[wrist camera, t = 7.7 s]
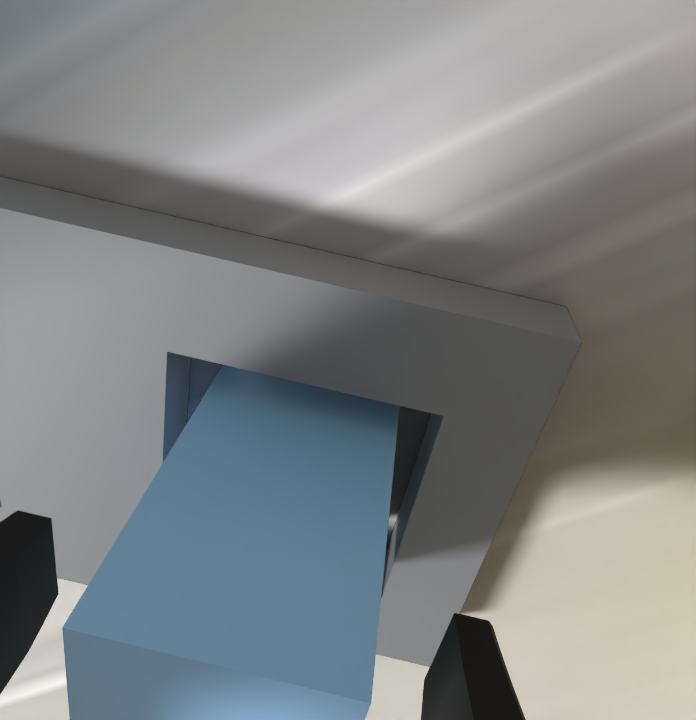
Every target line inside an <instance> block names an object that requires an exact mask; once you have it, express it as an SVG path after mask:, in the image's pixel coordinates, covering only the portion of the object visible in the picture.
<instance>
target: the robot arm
mask: <svg viewBox="0 0 696 720" xmlns="http://www.w3.org/2000/svg"><path fill="white" fill-rule="evenodd" d="M57 595H58V584H57V573H56V562H55V551H54V540H53V529H52V518H48V517H44V516H40V515H36V514H31V513H27V512H23V511H19V510H18V511H16V512H14V513H12V514H11V515H9V516H8V517H7V518H5V519H4V520H2V521H1V522H0V694H1V692H2V691H3V689H4V688H5V686H6V685H7V683H8V682H9V680H10V679H11V677H12V676H13V674H14V673H15V671H16V670H17V668H18V667H19V665H20V663H21V662H22V660H23V659H24V657H25V656H26V654H27V653H28V651H29V649H30V647H31V646H32V644H33V642H34V640H35V638H36V636H37V634H38V632H39V631H40V629H41V627H42V625H43V623H44V621H45V619H46V617H47V615H48V613H49V611H50V609H51V607H52V605H53V603H54V601H55V599H56V597H57ZM421 720H525V717H524V715H523V712H522V709H521V707H520V704H519V701H518V699H517V696H516V693H515V691H514V688H513V685H512V682H511V680H510V677H509V674H508V671H507V668H506V665H505V662H504V660H503V657H502V654H501V651H500V648H499V645H498V642H497V639H496V635H495V632H494V629H493V626H492V625H491V623H490V622H489V621H487V620H483V619H479V618H475V617H470V616H466V615H462V614H458V613H454V614H453V617H452V619H451V621H450V623H449V626H448V628H447V630H446V632H445V635H444V637H443V639H442V641H441V644H440V646H439V648H438V650H437V653H436V655H435V657H434V659H433V662H432V664H431V666H430V668H429V671H428V673H427V675H426V677H425V680H424V690H423V702H422V714H421Z"/></svg>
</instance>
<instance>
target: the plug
mask: <svg viewBox="0 0 696 720" xmlns="http://www.w3.org/2000/svg"><path fill="white" fill-rule="evenodd" d="M399 408H400V406H398V405H394V404H390V403H385V402H381V401H377V400H373V399H368V398H364V397H360V396H355V395H351V394H347V393H343V392H338V391H334V390H330V389H325V388H321V387H317V386H313V385H308V384H304V383H300V382H295V381H291V380H287V379H283V378H278V377H274V376H270V375H265V374H261V373H257V372H253V371H248V370H244V369H240V368H235V367H231V366H227V365H222V367H221V368H220V370H219V372H218V373H217V375H216V377H215V378H214V380H213V382H212V383H211V385H210V386H209V388H208V390H207V391H206V393H205V395H204V396H203V398H202V400H201V401H200V403H199V405H198V406H197V408H196V409H195V411H194V413H193V414H192V416H191V418H190V419H189V421H188V423H187V424H186V426H185V427H184V429H183V431H182V432H181V434H180V436H179V437H178V439H177V441H176V442H175V444H174V446H173V447H172V449H171V450H170V452H169V454H168V455H167V457H166V459H165V460H164V462H163V464H162V465H161V467H160V469H159V470H158V472H157V473H156V475H155V477H154V478H153V480H152V482H151V483H150V485H149V487H148V488H147V490H146V491H145V493H144V495H143V496H142V498H141V500H140V501H139V503H138V505H137V506H136V508H135V510H134V511H133V513H132V514H131V516H130V518H129V519H128V521H127V523H126V524H125V526H124V528H123V529H122V531H121V533H120V534H119V536H118V537H117V539H116V541H115V542H114V544H113V546H112V547H111V549H110V551H109V552H108V554H107V556H106V557H105V559H104V560H103V562H102V564H101V565H100V567H99V569H98V570H97V572H96V574H95V575H94V577H93V578H92V580H91V582H90V583H89V585H88V587H87V588H86V590H85V592H84V593H83V595H82V597H81V598H80V600H79V601H78V603H77V605H76V606H75V608H74V610H73V611H72V613H71V615H70V616H69V618H68V620H67V621H66V623H65V624H64V626H63V640H64V652H65V665H66V677H67V690H68V702H69V714H70V720H365V717H366V714H367V712H368V709H369V707H370V704H371V697H372V687H373V676H374V666H375V656H376V645H377V635H378V625H379V614H380V604H381V594H382V584H383V573H384V563H385V553H386V542H387V532H388V522H389V511H390V501H391V491H392V480H393V470H394V460H395V449H396V439H397V429H398V419H399Z"/></svg>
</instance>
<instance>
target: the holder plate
mask: <svg viewBox="0 0 696 720" xmlns="http://www.w3.org/2000/svg"><path fill="white" fill-rule="evenodd" d="M581 343H582V341H581V339H580V337H579V334H578V332H577V330H576V328H575V325H574V323H573V321H572V318H571V316H570V314H569V312H568V309H567V307H565V306H561V305H557V304H552V303H548V302H544V301H539V300H535V299H531V298H526V297H522V296H518V295H513V294H509V293H504V292H500V291H496V290H491V289H487V288H483V287H478V286H474V285H470V284H465V283H461V282H457V281H452V280H448V279H444V278H439V277H435V276H431V275H426V274H422V273H418V272H413V271H409V270H404V269H400V268H396V267H391V266H387V265H383V264H378V263H374V262H370V261H365V260H361V259H357V258H352V257H348V256H344V255H339V254H335V253H331V252H326V251H322V250H317V249H313V248H309V247H304V246H300V245H296V244H291V243H287V242H283V241H278V240H274V239H270V238H265V237H261V236H257V235H252V234H248V233H244V232H239V231H235V230H231V229H226V228H222V227H217V226H213V225H209V224H204V223H200V222H196V221H191V220H187V219H183V218H178V217H174V216H170V215H165V214H161V213H157V212H152V211H148V210H144V209H139V208H135V207H131V206H126V205H122V204H117V203H113V202H109V201H104V200H100V199H96V198H91V197H87V196H83V195H78V194H74V193H70V192H65V191H61V190H57V189H52V188H48V187H44V186H39V185H35V184H31V183H26V182H22V181H17V180H13V179H9V178H4V177H0V522H1V521H2V520H4V519H5V518H7V517H8V516H9V515H11V514H12V513H14V512H16V511H18V510H19V511H23V512H27V513H31V514H36V515H40V516H44V517H48V518H52V529H53V540H54V551H55V562H56V573H57V578H60V579H64V580H69V581H73V582H77V583H81V584H85V585H89V583H90V582H91V580H92V578H93V577H94V575H95V574H96V572H97V570H98V569H99V567H100V565H101V564H102V562H103V560H104V559H105V557H106V556H107V554H108V552H109V551H110V549H111V547H112V546H113V544H114V542H115V541H116V539H117V537H118V536H119V534H120V533H121V531H122V529H123V528H124V526H125V524H126V523H127V521H128V519H129V518H130V516H131V514H132V513H133V511H134V510H135V508H136V506H137V505H138V503H139V501H140V500H141V498H142V496H143V495H144V493H145V491H146V490H147V488H148V487H149V485H150V483H151V482H152V480H153V478H154V477H155V475H156V473H157V472H158V470H159V469H160V467H161V465H162V464H163V462H164V460H165V459H166V457H167V455H168V454H169V452H170V450H171V449H172V447H173V446H174V444H175V442H176V441H177V439H178V437H179V436H180V434H181V432H182V431H183V429H184V427H185V426H186V424H187V411H188V395H189V380H190V364H191V357H193V358H197V359H201V360H205V361H210V362H214V363H218V364H223V365H227V366H231V367H235V368H240V369H244V370H248V371H253V372H257V373H261V374H265V375H270V376H274V377H278V378H283V379H287V380H291V381H295V382H300V383H304V384H308V385H313V386H317V387H321V388H325V389H330V390H334V391H338V392H343V393H347V394H351V395H355V396H360V397H364V398H368V399H373V400H377V401H381V402H385V403H390V404H394V405H398V406H403V407H407V408H411V409H415V410H420V411H424V412H428V413H431V415H430V419H429V422H428V425H427V428H426V431H425V434H424V437H423V440H422V443H421V446H420V449H419V452H418V455H417V458H416V462H415V465H414V468H413V471H412V474H411V477H410V480H409V483H408V486H407V489H406V492H405V495H404V498H403V501H402V505H401V508H400V511H399V514H398V517H397V520H396V523H395V526H394V529H393V532H392V535H391V538H390V541H389V544H388V548H387V551H386V553H385V563H384V573H383V584H382V594H381V604H380V614H379V625H378V635H377V645H376V654H378V655H382V656H386V657H390V658H395V659H399V660H403V661H407V662H411V663H415V664H420V665H424V666H428V667H430V666H431V664H432V662H433V659H434V657H435V655H436V653H437V650H438V648H439V646H440V644H441V641H442V639H443V637H444V635H445V632H446V630H447V628H448V626H449V623H450V621H451V619H452V617H453V614H454V613H458V614H459V613H460V611H461V609H462V606H463V604H464V602H465V600H466V597H467V595H468V593H469V591H470V589H471V586H472V584H473V582H474V580H475V578H476V575H477V573H478V571H479V569H480V567H481V564H482V562H483V560H484V558H485V555H486V553H487V551H488V549H489V547H490V544H491V542H492V540H493V538H494V536H495V533H496V531H497V529H498V527H499V525H500V522H501V520H502V518H503V516H504V514H505V511H506V509H507V507H508V505H509V502H510V500H511V498H512V496H513V494H514V491H515V489H516V487H517V485H518V483H519V480H520V478H521V476H522V474H523V472H524V469H525V467H526V465H527V463H528V460H529V458H530V456H531V454H532V452H533V449H534V447H535V445H536V443H537V441H538V438H539V436H540V434H541V432H542V430H543V427H544V425H545V423H546V421H547V418H548V416H549V414H550V412H551V410H552V407H553V405H554V403H555V401H556V399H557V396H558V394H559V392H560V390H561V388H562V385H563V383H564V381H565V379H566V377H567V374H568V372H569V370H570V368H571V365H572V363H573V361H574V359H575V357H576V354H577V352H578V350H579V348H580V346H581Z"/></svg>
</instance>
